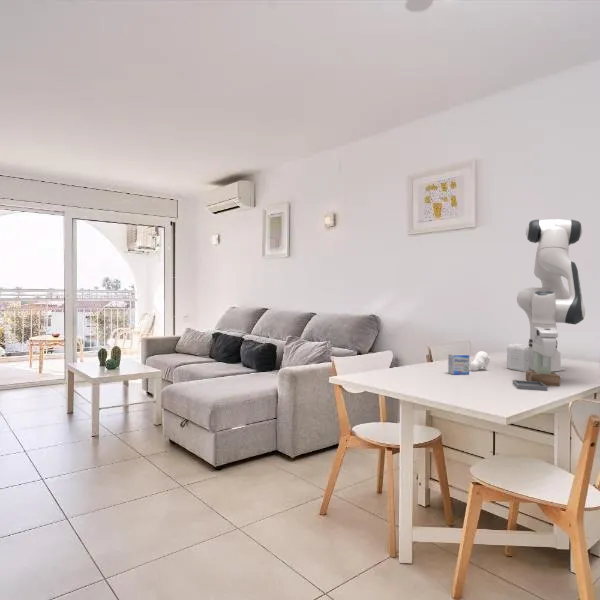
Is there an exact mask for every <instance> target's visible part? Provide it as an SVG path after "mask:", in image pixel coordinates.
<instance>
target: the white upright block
mask: <svg viewBox="0 0 600 600" xmlns="http://www.w3.org/2000/svg"><path fill="white" fill-rule="evenodd" d="M506 348H507V349H506V369H508V370H514V371H519V372H523V373H526V370H529V371H530V369H529V346H527V345H525V344H523V343H510V344H508V346H507V347H506Z"/></svg>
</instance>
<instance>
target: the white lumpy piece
mask: <svg viewBox="0 0 600 600" xmlns="http://www.w3.org/2000/svg"><path fill="white" fill-rule="evenodd" d="M490 360H491V359H490V356H489V354H488V353H487V352H486V351H483V350H482V351H478V352H477V353H475V355H474V356H473V359H472V360H471V361H470V362H469V370H471V371H472V372H475V371H477V372H478V371H479V370H480V369H481V368H482V369H484V370H485V371H488V366H489V364H490Z"/></svg>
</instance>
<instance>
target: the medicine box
mask: <svg viewBox="0 0 600 600" xmlns="http://www.w3.org/2000/svg"><path fill="white" fill-rule="evenodd" d="M447 356H448V357H447V358H448V359H447V360H448V361H447V362H448V364H447V365H448V366H447V373H448V374H449V375H452V376H460V375H461V376H465V375H467V376H468V375H470V366H469V365H470V354H466V353H459V354H456V353H455V354H454V353H452V354H451V353H450V354H448V355H447Z"/></svg>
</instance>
